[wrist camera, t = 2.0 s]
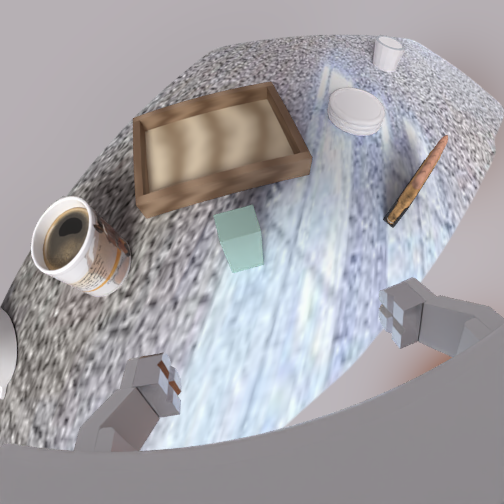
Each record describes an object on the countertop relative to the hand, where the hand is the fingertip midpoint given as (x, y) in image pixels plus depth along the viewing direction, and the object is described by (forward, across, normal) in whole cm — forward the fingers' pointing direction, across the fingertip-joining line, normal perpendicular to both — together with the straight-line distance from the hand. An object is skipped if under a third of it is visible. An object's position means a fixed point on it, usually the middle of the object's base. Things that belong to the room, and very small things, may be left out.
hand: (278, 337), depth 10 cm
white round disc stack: (+41, -25, -5) cm, 48 cm away
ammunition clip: (+28, -25, +8) cm, 38 cm away
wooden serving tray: (+40, 0, -5) cm, 40 cm away
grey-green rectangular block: (+26, 0, +9) cm, 28 cm away
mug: (+31, +20, +4) cm, 37 cm away
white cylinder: (+52, -42, -16) cm, 69 cm away
